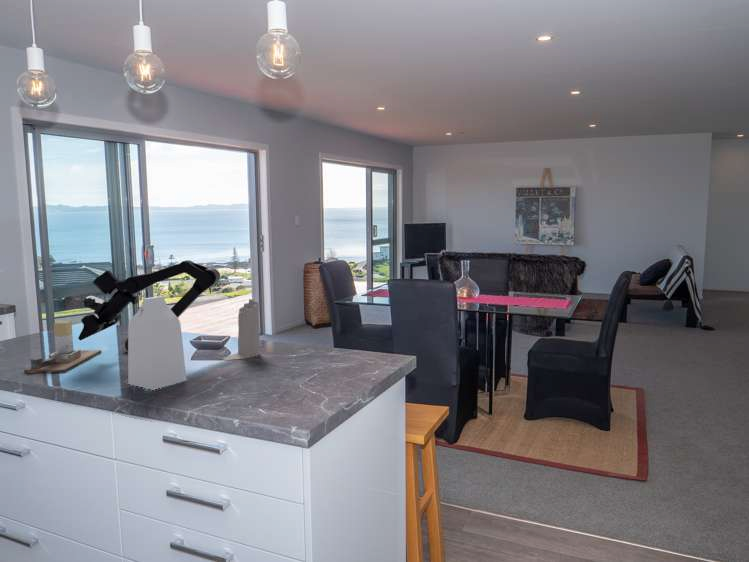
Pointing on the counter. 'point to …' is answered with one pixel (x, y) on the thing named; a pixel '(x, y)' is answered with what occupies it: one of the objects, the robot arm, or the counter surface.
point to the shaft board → (60, 361)
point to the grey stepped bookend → (247, 332)
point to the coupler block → (63, 337)
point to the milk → (155, 346)
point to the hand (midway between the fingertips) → (85, 336)
